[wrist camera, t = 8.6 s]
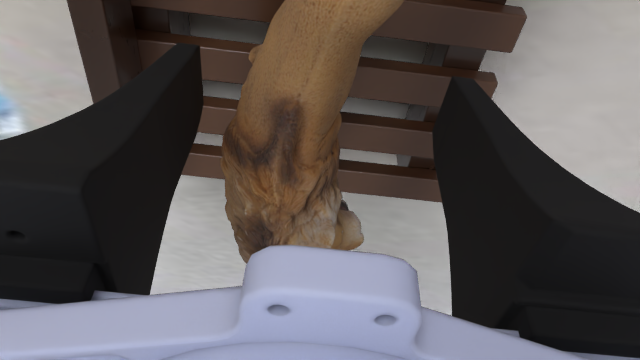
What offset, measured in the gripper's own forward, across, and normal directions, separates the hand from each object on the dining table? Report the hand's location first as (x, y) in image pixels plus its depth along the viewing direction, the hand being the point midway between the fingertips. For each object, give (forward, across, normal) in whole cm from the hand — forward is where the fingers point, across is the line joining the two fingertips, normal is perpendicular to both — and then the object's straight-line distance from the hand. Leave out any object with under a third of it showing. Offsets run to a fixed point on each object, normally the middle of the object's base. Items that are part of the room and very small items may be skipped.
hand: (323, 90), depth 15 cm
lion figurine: (+6, 0, 0) cm, 6 cm away
